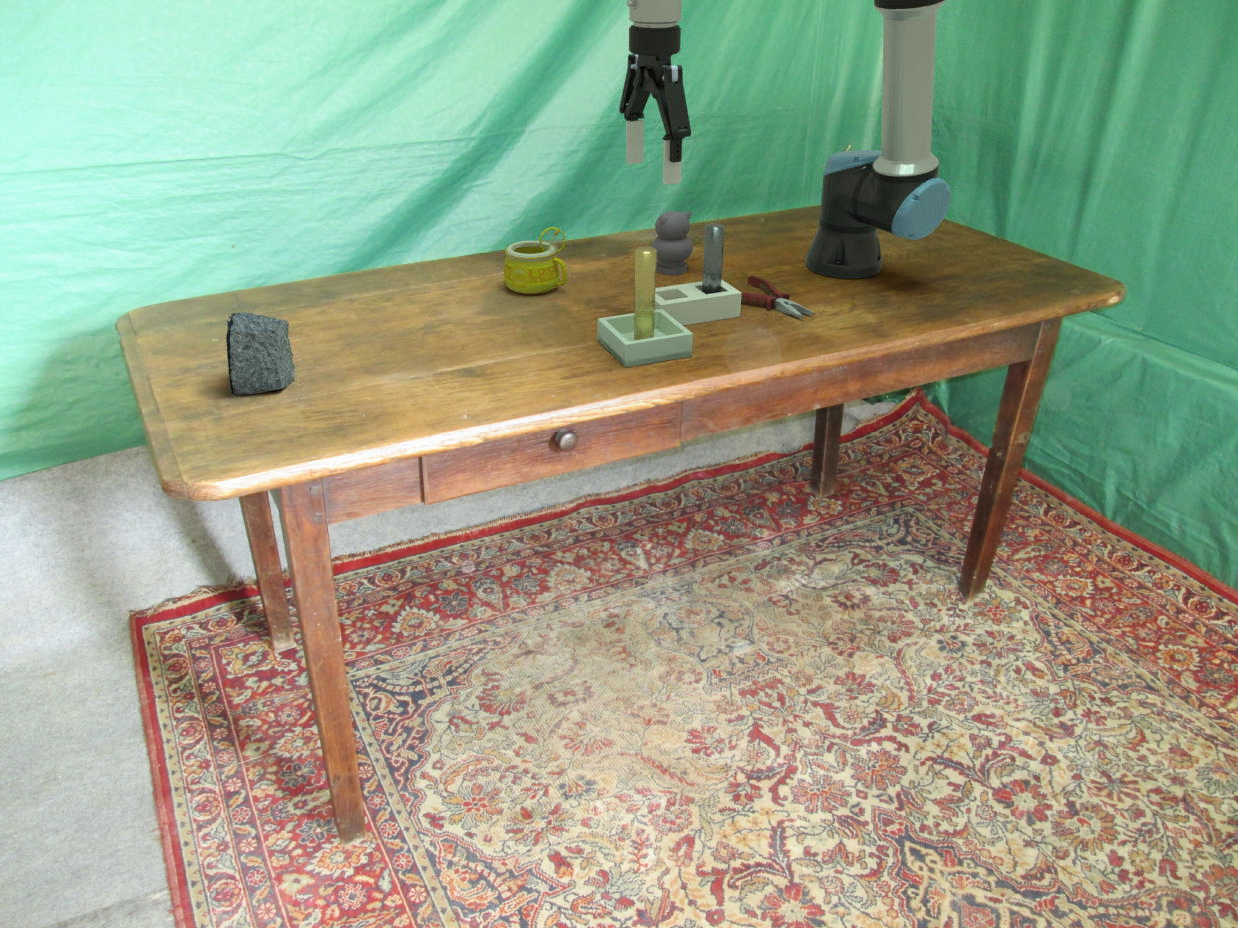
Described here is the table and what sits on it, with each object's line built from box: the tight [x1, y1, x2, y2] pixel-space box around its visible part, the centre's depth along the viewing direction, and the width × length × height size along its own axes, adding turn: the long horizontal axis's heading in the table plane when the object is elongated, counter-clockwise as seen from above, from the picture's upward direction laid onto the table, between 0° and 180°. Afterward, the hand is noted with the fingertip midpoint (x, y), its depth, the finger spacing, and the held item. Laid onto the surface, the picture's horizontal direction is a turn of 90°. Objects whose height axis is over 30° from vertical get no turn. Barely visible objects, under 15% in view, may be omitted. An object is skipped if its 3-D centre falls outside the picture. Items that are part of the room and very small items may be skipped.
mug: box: [503, 226, 568, 295], centre depth 188 cm, size 13×11×12 cm
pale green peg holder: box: [655, 278, 742, 327], centre depth 178 cm, size 16×8×4 cm, turn 113°
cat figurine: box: [651, 210, 694, 276], centre depth 197 cm, size 8×8×12 cm
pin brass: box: [633, 246, 657, 341], centre depth 161 cm, size 3×3×16 cm
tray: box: [597, 309, 694, 369], centre depth 165 cm, size 12×12×4 cm
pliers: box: [740, 275, 816, 319], centre depth 184 cm, size 12×20×3 cm, turn 38°
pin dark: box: [701, 222, 726, 294], centre depth 176 cm, size 3×3×16 cm
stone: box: [225, 312, 296, 396], centre depth 150 cm, size 12×10×10 cm
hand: (652, 173), depth 153 cm, fingers open, 13 cm apart
